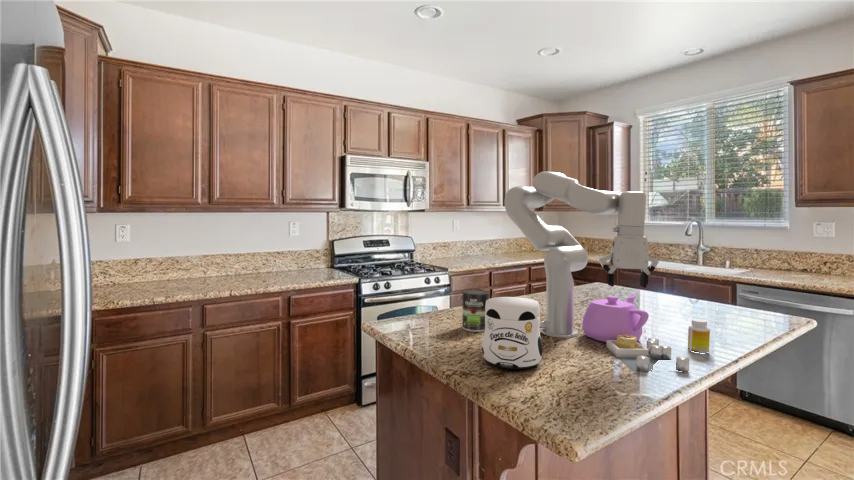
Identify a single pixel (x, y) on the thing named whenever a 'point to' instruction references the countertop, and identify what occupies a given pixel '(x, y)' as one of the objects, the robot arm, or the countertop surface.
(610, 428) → the countertop surface
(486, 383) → the countertop surface
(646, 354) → the dish
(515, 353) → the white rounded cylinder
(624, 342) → the nut
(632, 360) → the mat
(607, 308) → the teapot
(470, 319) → the coffee can
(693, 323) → the supplement bottle
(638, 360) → the spacers
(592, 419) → the countertop surface
